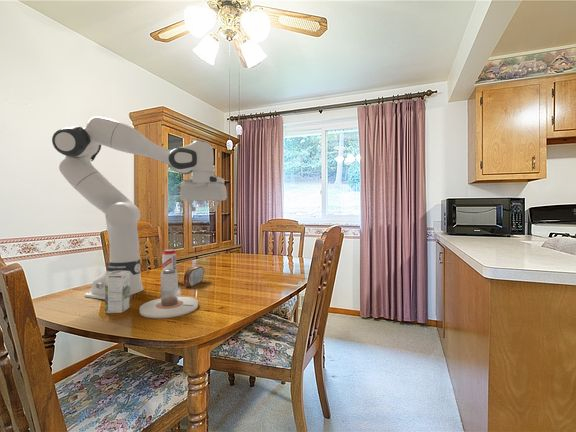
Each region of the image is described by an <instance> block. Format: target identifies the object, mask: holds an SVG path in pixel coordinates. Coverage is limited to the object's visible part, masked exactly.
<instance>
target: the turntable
mask: <svg viewBox="0 0 576 432" xmlns="http://www.w3.org/2000/svg"><path fill="white" fill-rule="evenodd" d="M198 306H199V300H197V298H194V297H192V296H191V297H189V296H179V295H178V304H176V305H174V306H162V305H161V297H160V298H157V299H156V298H155V299H153V300H150V301H146V302H145V303H143V304H142V305H140V306H139V315H140V316H142V317H144V318H147V319H168V318H169V319H170V318H176V317H180V316H181V317H182V316H185V315H187V314H190V313H192V312H194V311H195V310H197V309H198Z"/></svg>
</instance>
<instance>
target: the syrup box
mask: <svg viewBox="0 0 576 432" xmlns="http://www.w3.org/2000/svg"><path fill="white" fill-rule="evenodd" d="M130 299H131V295H130V271H123V270H119V271H113V272H110V273H108V274H106V275H105V299H104V301H105V302H104V307H105V308H104V309H105V311H104V313H105V314H115V313H118V314H120V313H124V312H125V311H127V310H128V309H129V308H131V305H130V304H131V301H130Z"/></svg>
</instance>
